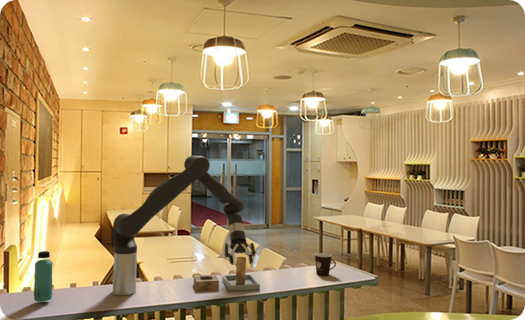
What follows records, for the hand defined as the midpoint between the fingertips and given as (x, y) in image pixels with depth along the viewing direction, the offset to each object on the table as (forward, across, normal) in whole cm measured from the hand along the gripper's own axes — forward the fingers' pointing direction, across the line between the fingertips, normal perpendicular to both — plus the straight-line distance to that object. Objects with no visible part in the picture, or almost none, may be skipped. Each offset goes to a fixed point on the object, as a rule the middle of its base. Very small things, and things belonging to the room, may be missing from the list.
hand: (241, 263), depth 196 cm
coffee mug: (-1, +46, +15) cm, 49 cm away
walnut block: (+6, -16, +8) cm, 19 cm away
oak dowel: (+6, 0, +8) cm, 10 cm away
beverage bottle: (+14, -81, +1) cm, 82 cm away
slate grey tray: (+6, 0, +8) cm, 10 cm away
